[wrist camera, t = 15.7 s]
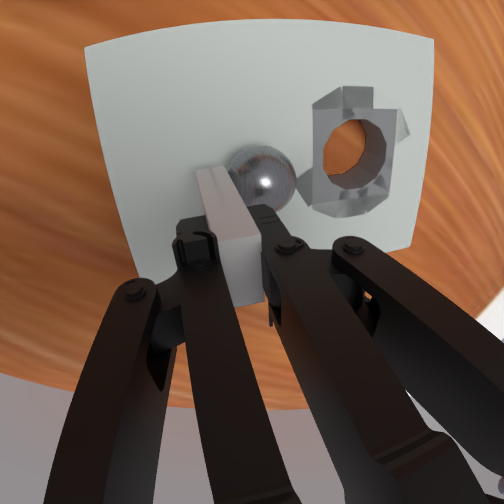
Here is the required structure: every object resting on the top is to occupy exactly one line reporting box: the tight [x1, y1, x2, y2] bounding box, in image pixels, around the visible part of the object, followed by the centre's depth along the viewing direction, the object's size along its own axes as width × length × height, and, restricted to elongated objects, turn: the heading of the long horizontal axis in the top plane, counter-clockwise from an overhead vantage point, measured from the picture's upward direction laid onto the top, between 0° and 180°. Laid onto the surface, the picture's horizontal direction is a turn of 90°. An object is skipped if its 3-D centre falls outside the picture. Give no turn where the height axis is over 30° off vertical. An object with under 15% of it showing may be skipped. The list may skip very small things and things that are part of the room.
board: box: [84, 19, 434, 285], centre depth 18 cm, size 20×16×2 cm
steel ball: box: [227, 145, 296, 212], centre depth 15 cm, size 4×4×4 cm
